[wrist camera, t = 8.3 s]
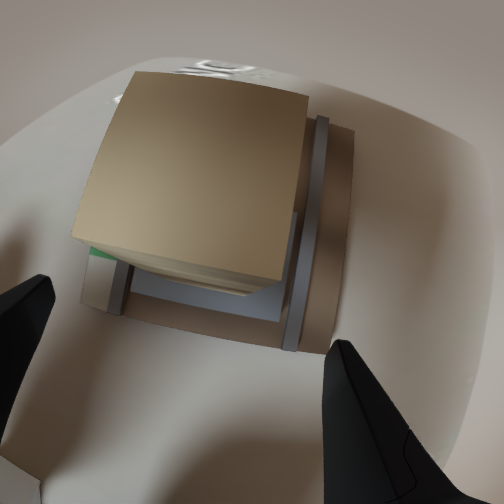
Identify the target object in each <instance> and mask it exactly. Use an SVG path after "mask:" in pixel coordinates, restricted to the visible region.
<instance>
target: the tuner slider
mask: <svg viewBox="0 0 504 504" xmlns="http://www.w3.org/2000/svg"><path fill="white" fill-rule="evenodd" d="M308 100H309V96H306V95H302V94H298V93H294V92H290V91H285V90H281V89H276V88H271V87H267V86H261V85H256V84H251V83H245V82H239V81H233V80H226V79H220V78H212V77H204V76H195V75H185V74H174V73H160V72H139V71H135V73H134V75H133V77H132V79H131V81H130V83H129V85H128V86H127V88H126V90H125V92H124V94H123V96H122V99H121V101H120V103H119V105H118V107H117V109H116V111H115V113H114V116H113V118H112V120H111V122H110V124H109V127H108V129H107V131H106V134H105V136H104V139H103V141H102V143H101V146H100V148H99V151H98V153H97V156H96V159H95V161H94V164H93V167H92V169H91V172H90V175H89V178H88V181H87V184H86V187H85V190H84V193H83V196H82V199H81V202H80V205H79V208H78V212H77V215H76V219H75V222H74V226H73V229H72V233H71V237H73V238H75V239H77V240H79V241H81V242H83V243H85V244H87V245H90V246H92V247H94V248H96V249H98V250H100V251H102V252H105V253H107V254H109V255H111V256H113V257H116V258H118V259H120V260H122V261H125V262H127V263H129V264H131V265H134V266H135V270H134V275H133V279H132V284H131V289H130V291H132V292H136V293H140V294H144V295H148V296H152V297H157V298H161V299H165V300H170V301H174V302H178V303H183V304H188V305H192V306H197V307H202V308H206V309H211V310H216V311H221V312H226V313H231V314H237V315H242V316H247V317H253V318H258V319H264V320H270V321H275V322H279V319H280V314H281V308H282V303H283V297H284V291H285V286H286V280H287V274H288V268H289V262H290V256H291V250H292V244H293V238H294V232H295V225H296V219H297V212H293V206H294V200H295V193H296V187H297V180H298V173H299V166H300V159H301V152H302V145H303V138H304V131H305V123H306V115H307V108H308Z"/></svg>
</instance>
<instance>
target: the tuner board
mask: <svg viewBox="0 0 504 504" xmlns="http://www.w3.org/2000/svg"><path fill="white" fill-rule="evenodd" d="M353 153H354V131H353V130H350V129H346V128H343V127H339V126H336V125H333V124H329V118H326V117H323V116H319V115H318V116H317V118H316V120H314V119H310V118H306V123H305V131H304V138H303V145H302V152H301V159H300V166H299V173H298V180H297V187H296V193H295V200H294V206H293V212H297V219H296V225H295V232H294V238H293V244H292V250H291V256H290V262H289V268H288V274H287V280H286V286H285V291H284V297H283V303H282V308H281V314H280V319H279V322H275V321H270V320H264V319H258V318H253V317H247V316H242V315H237V314H231V313H226V312H221V311H216V310H211V309H206V308H202V307H197V306H192V305H188V304H183V303H178V302H174V301H170V300H165V299H161V298H157V297H152V296H148V295H144V294H140V293H136V292H132V291H130V289H131V284H132V279H133V275H134V270H135V266H134V265H131V264H129V263H127V262H125V261H122V260H120V259H118V258H116V257H113V256H111V255H109V254H107V253H105V252H102V251H100V250H98V249H96V248H94V247H92V246H91V250H90V256H89V261H88V265H87V270H86V274H85V279H84V284H83V289H82V294H81V300H80V303H81V304H84V305H87V306H91V307H94V308H97V309H101V310H104V311H107V312H108V313H111V314H115V315H118V316H122V315H123V316H127V317H130V318H134V319H138V320H142V321H146V322H150V323H154V324H158V325H162V326H166V327H171V328H175V329H179V330H184V331H188V332H193V333H197V334H202V335H207V336H212V337H217V338H222V339H227V340H232V341H238V342H243V343H249V344H255V345H261V346H267V347H273V348H280V349H281V350H285V351H292V352H296V351H301V352H308V353H316V354H324V355H327V353H328V351H329V348H330V343H331V338H332V332H333V327H334V321H335V315H336V310H337V303H338V297H339V291H340V284H341V277H342V270H343V262H344V255H345V247H346V238H347V229H348V219H349V209H350V198H351V185H352V171H353Z"/></svg>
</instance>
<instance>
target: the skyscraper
mask: <svg viewBox="0 0 504 504" xmlns="http://www.w3.org/2000/svg"><path fill="white" fill-rule="evenodd" d="M40 483H41V481H40V480H38V479H36V478H34V477H33V476H31V475H29V474H28V473H26V472H25V471H23V470H22V469H20V468H18V467H17V466H15V465H14V464H12V463H11V462H9V461H8V460H6V459H5V458H4V457H2V456H1V455H0V504H41V498H40V488H39V485H40Z"/></svg>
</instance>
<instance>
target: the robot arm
mask: <svg viewBox="0 0 504 504" xmlns="http://www.w3.org/2000/svg"><path fill="white" fill-rule="evenodd" d="M55 298H56V297H55V292H54V288H53V285H52V281H51V279H50V277H48V276H46V275H43V274H38V275H36V276H34V277H32V278H30V279H28V280H26V281H25V282H23V283H21V284H19V285H17V286H15V287H14V288H12V289H10V290H8V291H6V292H5V293H3V294H1V295H0V444H1V440H2V437H3V433H4V430H5V427H6V424H7V421H8V418H9V415H10V412H11V409H12V407H13V404H14V401H15V398H16V396H17V393H18V391H19V388H20V386H21V383H22V381H23V378H24V376H25V373H26V371H27V369H28V366H29V364H30V362H31V359H32V357H33V355H34V353H35V351H36V348H37V346H38V344H39V342H40V339H41V337H42V334H43V331H44V329H45V326H46V323H47V321H48V318H49V316H50V313H51V310H52V308H53V305H54V303H55ZM322 425H323V457H324V504H490V503H487V502H484V501H481V500H478V499H475V498H473V497H470V496H467V495H465V494H464V493H462V492H461V491H459V490H458V489H457V488H456V487H455V486H454V485H453V484H452V482H451V481H450V480H449V479H448V477H447V476H446V475H445V474H444V473H443V471H442V470H441V469H440V468H439V467H438V465H437V464H436V463H435V462H434V460H433V459H432V458H431V457H430V455H429V454H428V453H427V452H426V450H425V449H424V447H423V446H422V445H421V443H420V442H419V440H418V439H417V438H416V436H415V435H414V433H413V432H412V430H411V429H409V426H408V424H407V423H406V421H405V420H404V418H403V417H402V415H401V414H400V412H399V411H398V410H397V408H396V407H395V405H394V404H393V402H392V401H391V399H390V398H389V396H388V395H387V394H386V392H385V391H384V389H383V388H382V386H381V385H380V383H379V382H378V381H377V379H376V378H375V376H374V375H373V373H372V372H371V371H370V369H369V368H368V366H367V365H366V363H365V362H364V361H363V359H362V358H361V356H360V355H359V353H358V352H357V351H356V349H355V348H354V346H353V345H352V344H351V342H350V341H348V340H341V339H337V340H335V341H334V343H333V345H332V346H331V348H330V350H329V351H328V353H327V355H326V357H325V361H324V378H323V394H322Z"/></svg>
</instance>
